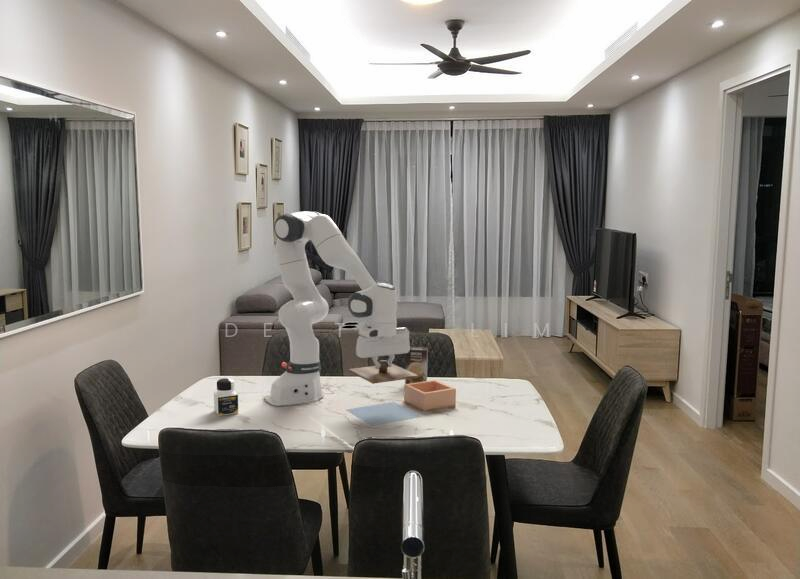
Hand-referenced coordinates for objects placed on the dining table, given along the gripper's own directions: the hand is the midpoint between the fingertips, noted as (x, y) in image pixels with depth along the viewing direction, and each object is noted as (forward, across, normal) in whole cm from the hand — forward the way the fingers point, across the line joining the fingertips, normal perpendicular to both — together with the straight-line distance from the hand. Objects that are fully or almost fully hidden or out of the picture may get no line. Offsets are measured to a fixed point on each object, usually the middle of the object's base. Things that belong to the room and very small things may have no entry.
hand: (383, 367), depth 230 cm
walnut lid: (+2, 0, 0) cm, 2 cm away
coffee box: (+18, -30, -26) cm, 43 cm away
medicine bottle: (+18, +48, -30) cm, 59 cm away
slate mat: (+17, 0, 0) cm, 17 cm away
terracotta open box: (+17, -21, -2) cm, 27 cm away
